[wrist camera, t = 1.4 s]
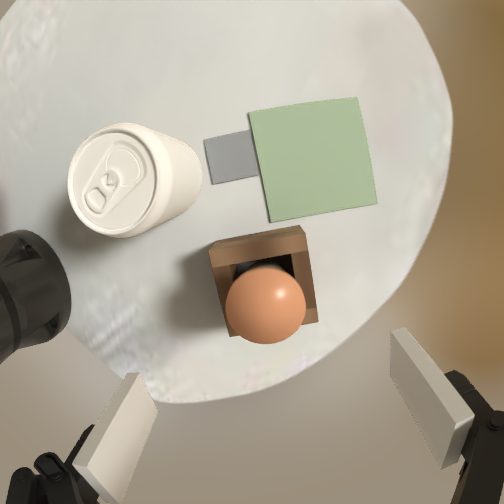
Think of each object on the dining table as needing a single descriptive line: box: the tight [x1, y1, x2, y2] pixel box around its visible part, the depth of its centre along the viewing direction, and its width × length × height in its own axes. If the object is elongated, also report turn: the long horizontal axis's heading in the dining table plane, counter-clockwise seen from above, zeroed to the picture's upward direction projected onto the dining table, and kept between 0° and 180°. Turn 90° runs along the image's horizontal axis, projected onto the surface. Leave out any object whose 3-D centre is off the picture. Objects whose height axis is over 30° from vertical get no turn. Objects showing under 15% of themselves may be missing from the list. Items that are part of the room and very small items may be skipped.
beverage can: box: [67, 123, 202, 238], centre depth 24 cm, size 8×8×12 cm
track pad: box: [204, 130, 259, 184], centre depth 29 cm, size 4×4×1 cm
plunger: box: [225, 261, 306, 344], centre depth 26 cm, size 6×6×6 cm
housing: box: [208, 225, 319, 337], centre depth 30 cm, size 8×8×4 cm
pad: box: [249, 97, 378, 222], centre depth 29 cm, size 11×11×1 cm
